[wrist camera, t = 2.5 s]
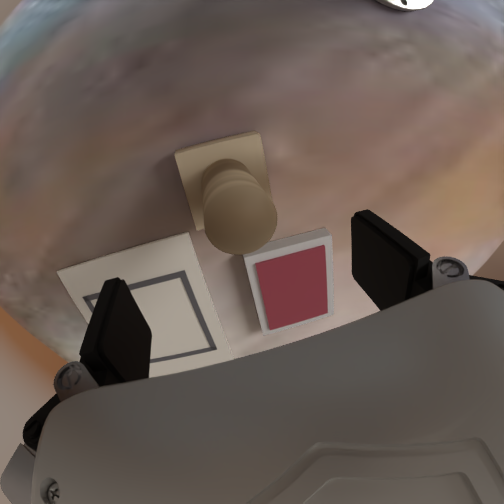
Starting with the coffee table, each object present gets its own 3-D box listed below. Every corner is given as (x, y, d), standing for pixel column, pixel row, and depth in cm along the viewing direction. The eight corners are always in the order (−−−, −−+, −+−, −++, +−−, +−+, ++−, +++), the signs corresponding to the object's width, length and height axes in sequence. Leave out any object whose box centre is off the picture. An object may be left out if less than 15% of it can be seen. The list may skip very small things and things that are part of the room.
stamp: (176, 148, 20) (163, 181, 12) (252, 130, 21) (291, 149, 13) (196, 217, 23) (199, 285, 15) (266, 199, 24) (305, 257, 16)
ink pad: (241, 249, 26) (244, 259, 24) (325, 227, 26) (332, 235, 25) (260, 326, 31) (263, 337, 29) (328, 305, 31) (334, 315, 30)
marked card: (57, 270, 23) (56, 272, 23) (188, 231, 24) (188, 233, 24) (133, 380, 32) (132, 383, 32) (235, 361, 33) (236, 363, 33)
